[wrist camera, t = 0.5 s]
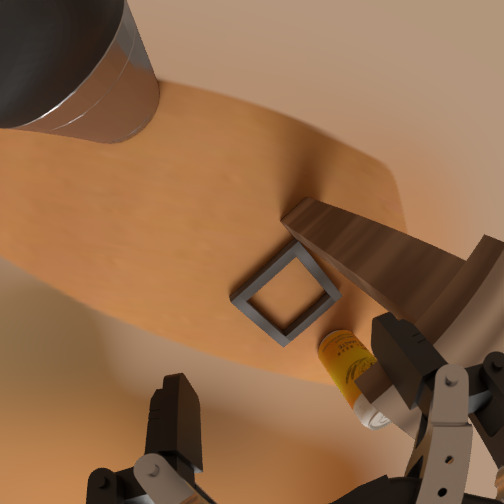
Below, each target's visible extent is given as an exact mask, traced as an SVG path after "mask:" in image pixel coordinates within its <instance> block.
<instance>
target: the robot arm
mask: <svg viewBox="0 0 504 504" xmlns="http://www.w3.org/2000/svg"><path fill="white" fill-rule="evenodd" d="M159 95H160V94H159V85H158V82H157V79H156V77H155V74H154V71H153V68H152V66H151V63H150V61H149V58H148V55H147V53H146V50H145V47H144V45H143V42H142V40H141V37H140V34H139V32H138V29H137V26H136V24H135V21H134V18H133V16H132V14H131V11H130V8H129V6H128V3H127V0H0V128H4V129H15V130H24V131H33V132H41V133H48V134H54V135H61V136H67V137H73V138H78V139H84V140H89V141H94V142H100V143H109V144H112V143H119V142H122V141H125V140H128V139H130V138H132V137H133V136H135V135H137V134H138V133H139V132H140V131H141V130H143V129H144V128H145V127H146V125H147V124H148V123H149V122H150V121H151V119H152V117H153V115H154V114H155V112H156V109H157V106H158V103H159ZM371 348H372V351H373V354H374V356H375V357H376V359H377V360H378V362H379V363H380V365H381V366H382V368H383V369H384V371H385V372H386V374H387V376H388V377H389V379H390V380H391V382H392V383H393V385H394V386H395V388H396V389H397V391H398V393H399V394H400V396H401V397H402V399H403V400H404V402H405V404H406V405H407V407H408V408H409V410H412V409H414V408H416V407H417V406H418V407H419V409H420V410H421V412H420V416H419V422H418V428H417V433H416V438H415V442H414V447H413V451H412V454H411V457H410V459H409V462H408V464H407V467H406V471H405V474H404V477H395V478H389V479H388V477H387V475H384V476H382V477H380V478H377V479H375V480H373V481H370V482H368V483H366V484H363V485H361V486H358V487H357V488H355V489H354V490H352V491H351V492H349V493H348V494H346V495H344V496H343V497H341V498H339V499H338V500H336V501H334V502H332V503H329V504H504V353H502V352H498V351H494V352H491V353H489V354H488V355H487V356H486V357H485V359H484V361H483V363H481V364H478V365H474V366H471V367H467V368H463V367H461V366H460V365H457V364H449V363H448V362H447V361H446V360H445V359H444V358H443V357H442V356H441V355H440V353H439V352H438V351H437V350H436V349H435V348H434V346H433V345H432V344H431V343H430V342H429V341H428V340H426V337H425V336H424V335H423V334H422V333H420V331H419V330H418V329H417V327H416V326H415V325H414V324H412V323H410V322H408V321H406V320H405V319H401V320H399V321H398V320H397V319H396V317H395V316H394V315H393V314H392V313H391V312H387V313H385V314H382V315H380V316H377V317H375V318H373V320H372V334H371ZM149 410H150V412H149V417H148V419H149V421H148V426H147V437H146V446H145V454H144V455H143V456H142V457H140V458H139V459H138V460H137V462H136V463H135V465H134V466H133V467H131V468H128V469H125V470H122V471H118V472H112V471H111V470H109V469H107V468H98V469H96V470H94V471H93V472H92V473H91V474H90V476H89V479H88V486H87V498H86V504H218V503H217V502H216V501H215V500H214V499H212V498H211V497H210V496H209V495H208V494H207V493H206V492H205V491H204V490H203V489H202V488H201V487H200V486H199V485H198V484H197V483H196V482H195V478H194V473H200V472H203V464H202V445H201V422H200V421H201V420H200V403H199V399H198V396H197V394H196V392H195V391H194V389H193V388H192V386H191V385H190V383H189V381H188V380H187V378H186V376H185V375H184V374H183V373H178V374H173V375H167V376H165V377H164V380H163V389H157V390H156V391H155V393H154V395H153V397H152V398H151V402H150V409H149ZM468 417H469V418H470V420H471V422H472V423H473V425H474V427H475V428H476V430H477V432H478V433H479V435H480V436H481V438H482V440H483V442H484V444H485V445H486V447H487V449H488V451H489V452H490V454H491V456H492V458H493V460H494V461H495V463H496V465H497V467H498V469H499V470H498V472H497V475H496V480H495V487H496V488H497V496H496V499H491V498H486V497H481V496H476V495H472V494H468V493H464V490H465V485H466V479H467V474H468V468H469V462H470V454H471V445H472V434H473V428H472V424H469V423H468Z"/></svg>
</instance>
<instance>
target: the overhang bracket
mask: <svg viewBox="0 0 504 504" xmlns="http://www.w3.org/2000/svg"><path fill="white" fill-rule="evenodd" d="M281 223H282V224H283V225H284V226H285V227H286V228H287V230H288V231H289V232H290V233H291V234H292V236H293V237H295V238H296V239H297V240H296V239H295V238H294V239H293V240H292V241H291V242H290V243H289V244H288V245H287V246H285V247H284V248H283V249H282V250H281V251H280V252H279V253H278V254H277V255H276V256H275V257H273V258H272V259H271V260H270V261H269V262H268V263H267V264H266V265H265V266H264V267H262V268H261V269H260V270H259V271H258V272H257V273H256V274H255V275H254V276H252V277H251V278H250V279H249V280H248V281H247V282H246V283H245V284H244V285H242V286H241V287H240V288H239V289H238V290H237V291H236V292H235V293H234V294H232V295H231V296H230V297H229V298H230V301H231V303H232V304H233V305H235V306H236V307H237V308H238V309H239V310H240V311H241V312H242V313H244V314H245V315H246V316H247V317H248V318H249V319H251V320H252V321H253V322H254V323H255V324H256V325H258V326H259V327H260V328H261V329H262V330H263V331H265V332H266V333H267V334H268V335H269V336H270V337H272V338H273V339H274V340H275V341H276V342H278V343H279V344H280V345H281V346H282V347H285V346H286V345H287V344H288V343H290V342H291V341H292V340H293V339H294V338H296V337H297V336H298V335H299V334H300V333H302V332H303V331H304V330H305V329H306V328H307V327H309V326H310V325H311V324H312V323H313V322H314V321H315V320H317V319H318V318H319V317H320V316H321V315H322V314H323V313H324V312H325V311H327V310H328V309H329V308H330V307H331V306H332V305H333V304H334V303H335V302H336V301H337V300H339V299H340V298H341V297H342V294H341V293H340V292H339V291H338V289H337V288H336V287H335V286H334V284H333V283H332V282H331V281H330V279H329V278H328V277H327V276H326V274H325V273H324V272H323V271H322V269H321V268H320V267H319V266H318V264H317V263H316V262H315V261H314V259H313V258H312V257H311V256H310V254H309V253H308V252H307V251H306V250H305V248H304V247H303V246H302V245H301V244H300V242H301V243H303V244H304V245H305V246H307V247H308V248H309V249H311V250H312V251H313V252H314V253H316V254H317V255H318V256H320V257H321V258H322V259H324V260H325V261H326V262H328V263H329V264H330V265H331V266H333V267H334V268H335V269H337V270H338V271H339V272H340V273H342V274H343V275H344V276H345V277H347V278H348V279H349V280H351V281H352V282H353V283H354V284H356V285H357V286H358V287H359V288H361V289H362V290H363V291H364V292H366V293H367V294H368V295H369V296H371V297H372V298H373V299H374V300H376V301H377V302H378V303H379V304H380V305H382V306H383V307H384V308H385V309H387V310H388V311H389V312H391V313H392V314H393V315H394V316H395V317H396V318H397V319H399V320H401V319H405V320H406V321H408V322H410V323H412V324H414V325H415V326H416V327H417V329H418V330H419V331H420V333H422V334H423V335H424V336H425V337H426V340H428V341H429V342H430V343H431V344H432V345H433V346H434V348H435V349H436V350H437V351H438V352H439V353H440V355H441V356H442V357H443V358H444V359H445V360H446V361H447V362H448V363H449V364H457V365H460V366H461V367H463V368H467V367H471V366H474V365H478V364H481V363H483V361H484V359H485V357H486V356H487V355H488V354H489V353H491V352H494V351H498V352H502V353H503V352H504V242H502V241H500V240H497V239H495V238H492V237H490V236H487V235H484V236H483V237H482V239H481V241H480V242H479V244H478V245H477V246H476V248H475V249H474V251H473V252H472V254H471V255H470V257H469V258H468V259H467V261H465V260H463V259H461V258H459V257H457V256H455V255H452V254H450V253H448V252H446V251H444V250H441V249H439V248H437V247H435V246H433V245H430V244H428V243H426V242H423V241H421V240H419V239H417V238H414V237H412V236H410V235H407V234H405V233H402V232H400V231H398V230H395V229H393V228H390V227H388V226H385V225H383V224H380V223H378V222H375V221H372V220H370V219H367V218H365V217H362V216H359V215H357V214H354V213H351V212H349V211H346V210H343V209H340V208H338V207H335V206H332V205H329V204H326V203H323V202H320V201H317V200H315V199H312V198H309V197H306V198H305V199H304V200H303V201H301V202H300V203H299V204H298V205H297V206H296V207H295V208H294V209H293V210H292V211H290V212H289V213H288V214H287V215H286V216H285V217H284V218H283V219H282V220H281ZM298 240H299V241H300V242H299V241H298ZM295 257H297V258H298V259H299V260H300V261H301V262H302V264H303V265H304V266H305V267H306V268H307V270H308V271H309V272H310V273H311V274H312V275H313V277H314V278H315V279H316V280H317V281H318V283H319V284H320V285H321V286H322V287H323V289H324V290H325V291H326V292H327V293H326V294H325V295H324V296H323V297H322V298H320V299H319V300H318V301H317V302H316V303H315V304H314V305H313V306H312V307H310V308H309V309H308V310H307V311H306V312H305V313H304V314H303V315H301V316H300V317H299V318H298V319H297V320H296V321H295V322H293V323H292V324H291V325H290V326H289V327H288V328H286V329H285V330H284V331H283V332H282V331H281V330H280V329H279V328H278V327H277V326H275V325H274V324H273V323H272V322H271V321H270V320H269V319H268V318H266V317H265V316H264V315H263V314H262V313H261V312H260V311H259V310H258V309H257V308H255V307H254V306H253V305H252V304H251V303H250V302H249V301H248V299H249V298H251V297H252V296H253V295H254V294H255V293H256V292H257V291H258V290H260V289H261V288H262V287H263V286H264V285H265V284H266V283H267V282H269V281H270V280H271V279H272V278H273V277H274V276H275V275H276V274H277V273H279V272H280V271H281V270H282V269H283V268H284V267H285V266H286V265H287V264H288V263H290V262H291V261H292V260H293V259H294V258H295ZM354 383H355V384H356V385H357V387H358V388H359V389H360V391H361V392H362V394H363V395H364V396H365V398H366V399H367V400H368V402H369V403H370V404H371V405H372V406H373V407H374V408H376V409H377V410H378V411H379V412H381V413H382V414H383V415H384V416H385V417H387V418H388V419H389V420H390V421H392V422H393V423H394V424H396V425H397V426H398V427H399V428H401V429H402V430H403V431H405V432H406V433H407V434H408V435H409V436H411V437H412V438H413V439H415V438H416V433H417V428H418V422H419V416H420V412H421V410H420V409H419V407H418V406H417V407H416V408H414V409H412V410H409V408H408V407H407V405H406V404H405V402H404V400H403V399H402V397H401V396H400V394H399V393H398V391H397V389H396V388H395V386H394V385H393V383H392V382H391V380H390V379H389V377H388V376H387V374H386V372H385V371H384V369H383V368H382V366H381V365H380V363H379V362H378V360H377V361H376V362H375V363H374V364H373V365H372V366H371V367H370V368H368V369H367V370H366V371H365V372H364V373H363V374H362V375H360V376H359V377H358V378H357V379H356V380H354Z"/></svg>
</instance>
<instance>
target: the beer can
mask: <svg viewBox="0 0 504 504" xmlns="http://www.w3.org/2000/svg"><path fill="white" fill-rule="evenodd" d="M318 357H319V359H320V361H321V362H322V364H323V365H324V367H325V368H326V370H327V372H328V373H329V375H330V376H331V378H332V379H333V381H334V382H335V384H336V385H337V387H338V388H339V390H340V391H341V393H342V394H343V396H344V397H345V399H346V400H347V402H348V403H349V405H350V406H351V408H352V409H353V411H354V412H355V414H356V415H357V417H358V418H359V420H360V421H361V423H362V424H363V425H364V426H366V427H368V428H370V429H371V430H378V429H381V428H383V427H385V426H387V425H389V424H390V423H392V421H390V420H389V419H388V418H387V417H385V416H384V415H383V414H382V413H381V412H379V411H378V410H377V409H376V408H374V407H373V406H372V405H371V404H370V403H369V402H368V400H367V399H366V398H365V396H364V395H363V394H362V392H361V391H360V389H359V388H358V387H357V385H356V384H355V383H354V380H356V379H357V378H358V377H359V376H360V375H362V374H363V373H364V372H365V371H366V370H367V369H368V368H370V367H371V366H372V365H373V364H374V363H375V362H376V361H377V359H376V358H375V357H374V356H373V355H372V354H371V353H370V352H369V351H368V349H367V348H366V347H365V346H364V345H363V344H362V343H361V342H360V341H359V339H358V338H357V337H356V336H355V335H354V334H353V333H352V332H351V331H349V330H336V331H333V332H331V333H330V334H328V335H327V336H326V337H325V338H324V339H323V340H322V342H321V344H320V346H319V350H318Z"/></svg>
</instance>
